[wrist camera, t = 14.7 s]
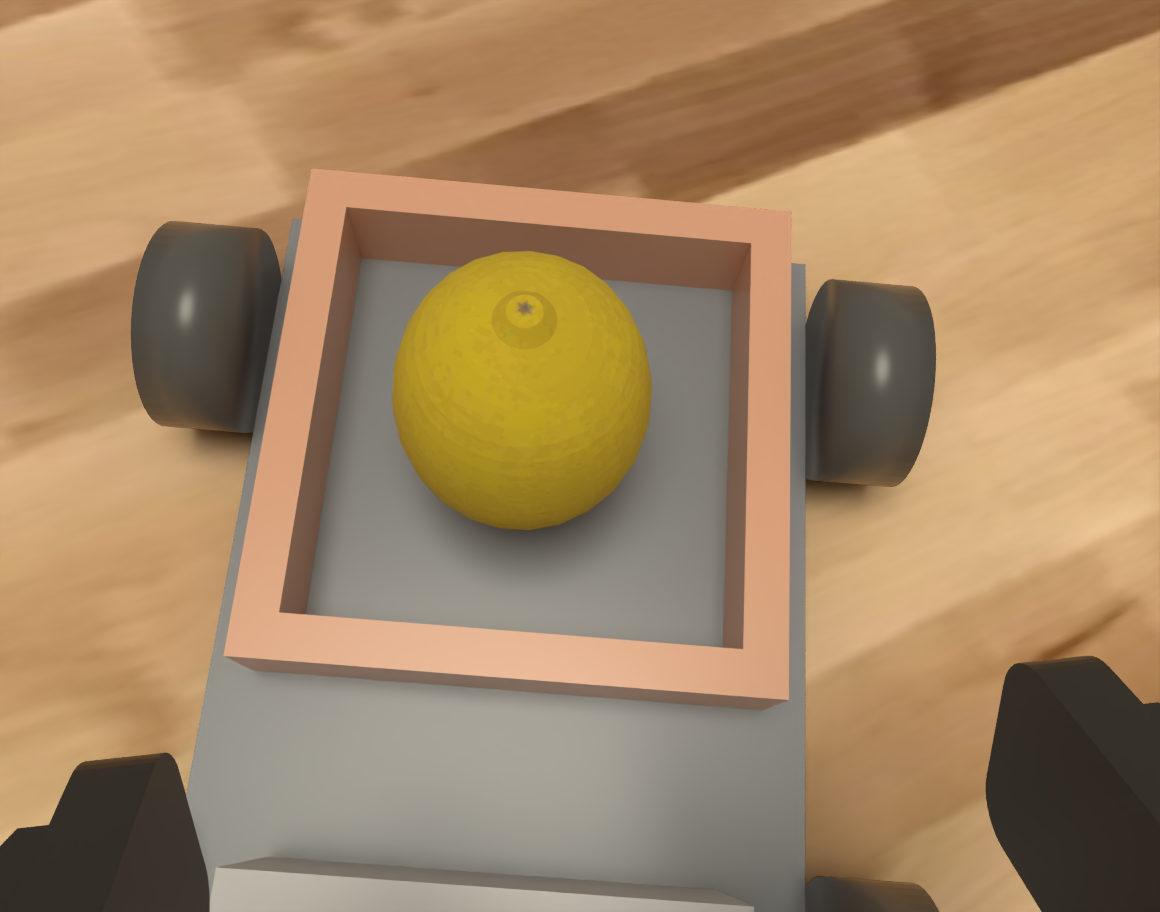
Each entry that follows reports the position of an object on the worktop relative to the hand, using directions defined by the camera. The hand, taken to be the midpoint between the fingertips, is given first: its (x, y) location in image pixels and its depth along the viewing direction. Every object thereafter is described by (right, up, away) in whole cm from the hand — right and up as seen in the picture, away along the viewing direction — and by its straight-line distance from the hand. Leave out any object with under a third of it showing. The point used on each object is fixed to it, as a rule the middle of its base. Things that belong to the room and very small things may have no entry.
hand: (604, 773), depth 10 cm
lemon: (-2, +3, +16) cm, 17 cm away
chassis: (-2, -2, +16) cm, 16 cm away
